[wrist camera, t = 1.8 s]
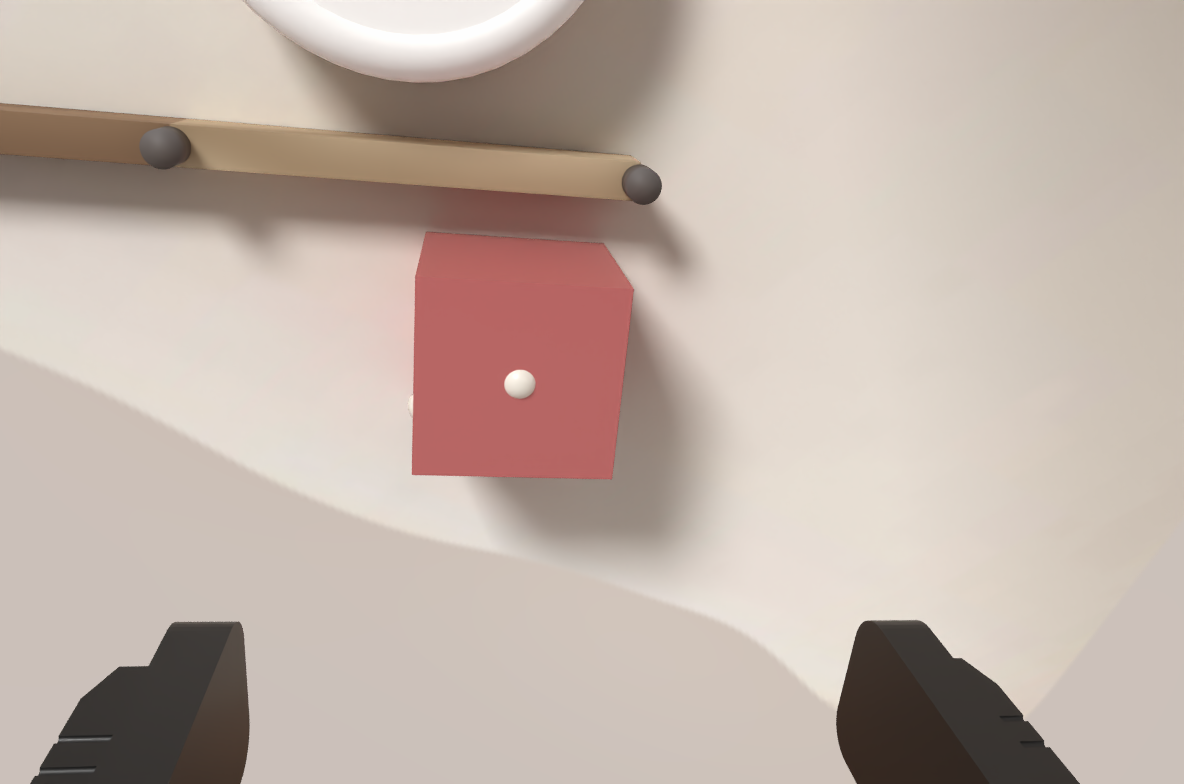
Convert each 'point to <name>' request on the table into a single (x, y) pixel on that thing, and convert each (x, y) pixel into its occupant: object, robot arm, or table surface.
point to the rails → (320, 153)
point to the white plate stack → (417, 33)
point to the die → (517, 357)
